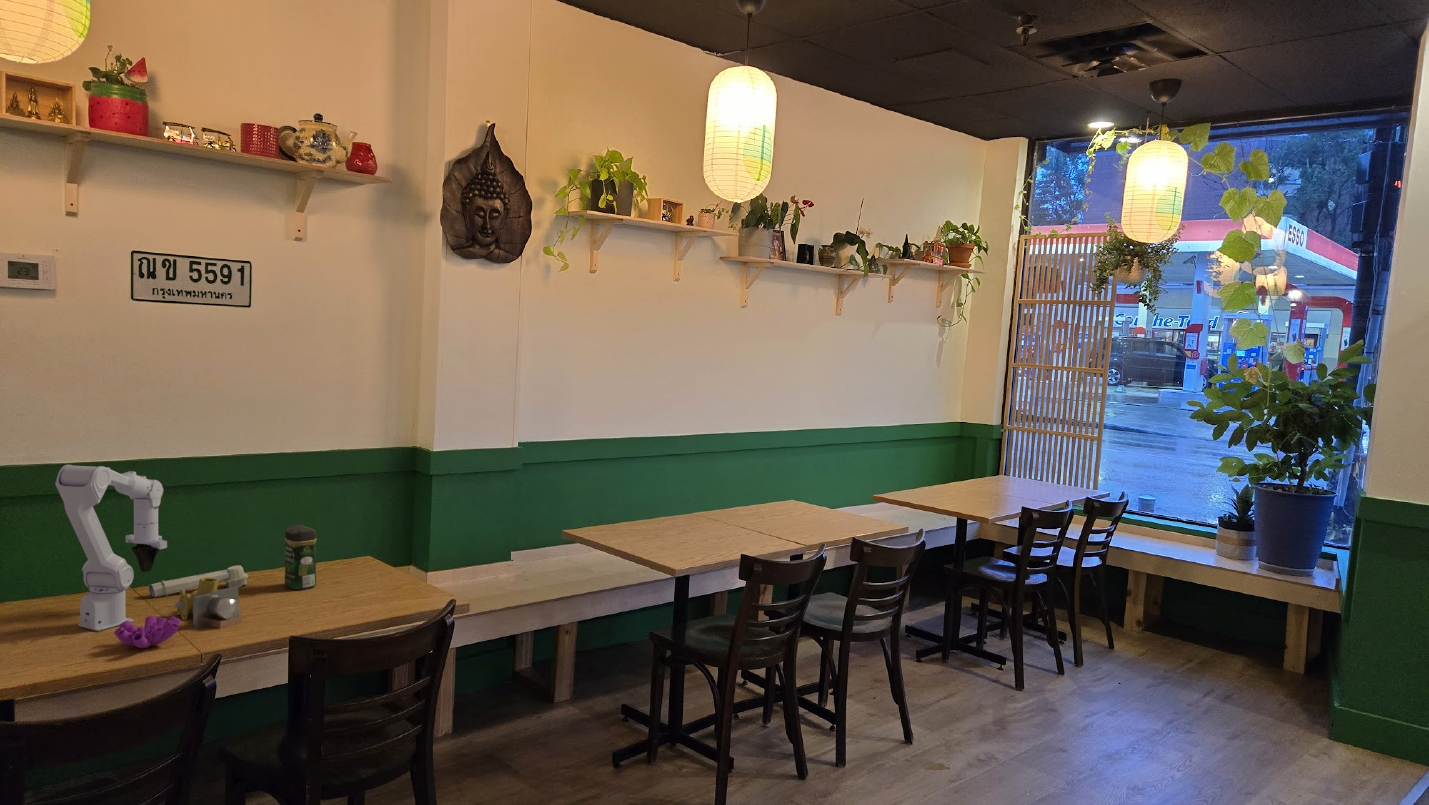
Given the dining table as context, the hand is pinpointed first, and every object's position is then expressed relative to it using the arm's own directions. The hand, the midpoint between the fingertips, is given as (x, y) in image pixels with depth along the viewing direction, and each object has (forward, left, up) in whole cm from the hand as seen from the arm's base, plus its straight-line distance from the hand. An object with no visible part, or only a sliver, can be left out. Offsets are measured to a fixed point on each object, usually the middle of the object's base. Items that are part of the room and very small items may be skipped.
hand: (146, 571), depth 255 cm
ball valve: (+2, -18, -10) cm, 21 cm away
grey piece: (+18, +2, -10) cm, 20 cm away
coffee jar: (+36, -18, -10) cm, 41 cm away
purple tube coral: (-19, -29, -10) cm, 36 cm away
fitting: (+1, -29, -10) cm, 31 cm away
